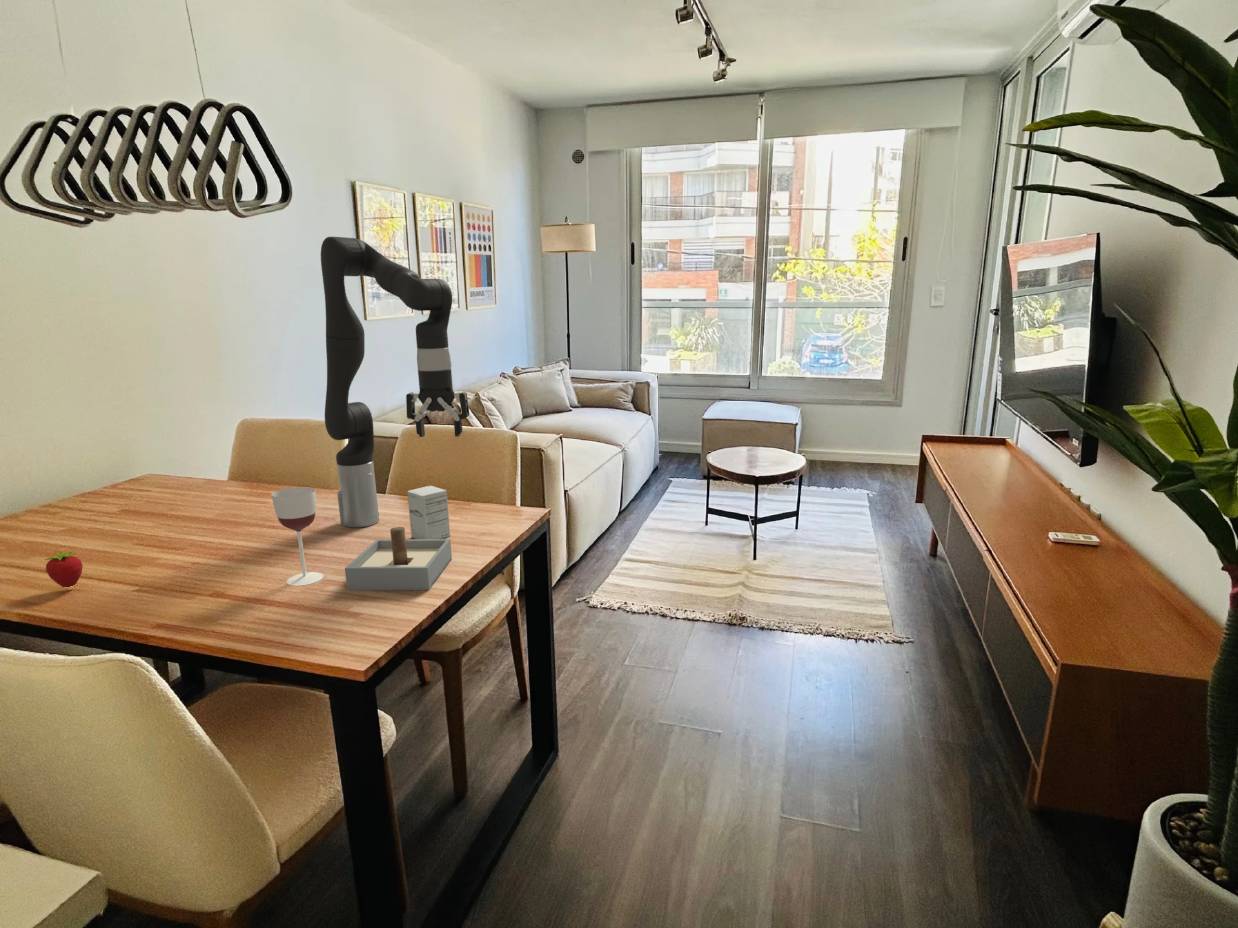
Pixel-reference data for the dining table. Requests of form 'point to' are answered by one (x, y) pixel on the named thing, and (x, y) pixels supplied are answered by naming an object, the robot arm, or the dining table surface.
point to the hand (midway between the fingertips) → (440, 436)
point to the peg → (399, 546)
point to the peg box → (399, 566)
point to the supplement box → (428, 513)
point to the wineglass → (297, 522)
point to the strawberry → (64, 569)
